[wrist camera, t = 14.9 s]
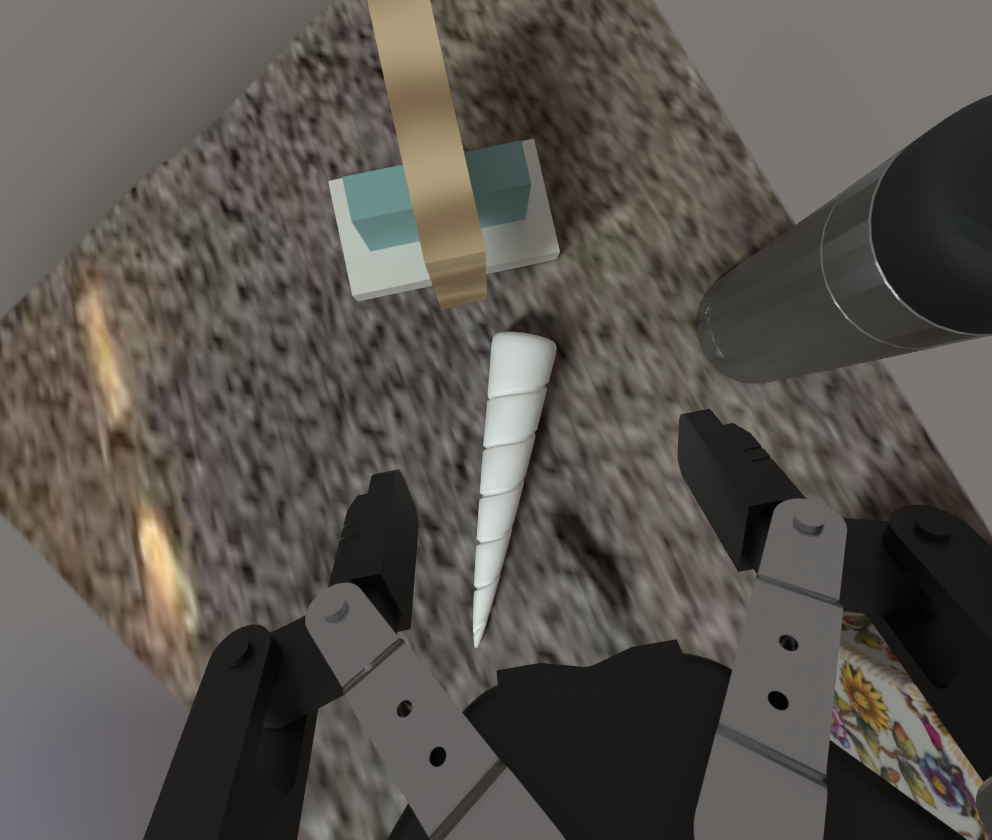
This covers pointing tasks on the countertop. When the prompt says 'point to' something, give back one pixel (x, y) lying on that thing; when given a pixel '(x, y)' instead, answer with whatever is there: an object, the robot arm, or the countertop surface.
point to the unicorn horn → (507, 452)
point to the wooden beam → (431, 150)
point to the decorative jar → (899, 730)
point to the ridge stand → (393, 232)
